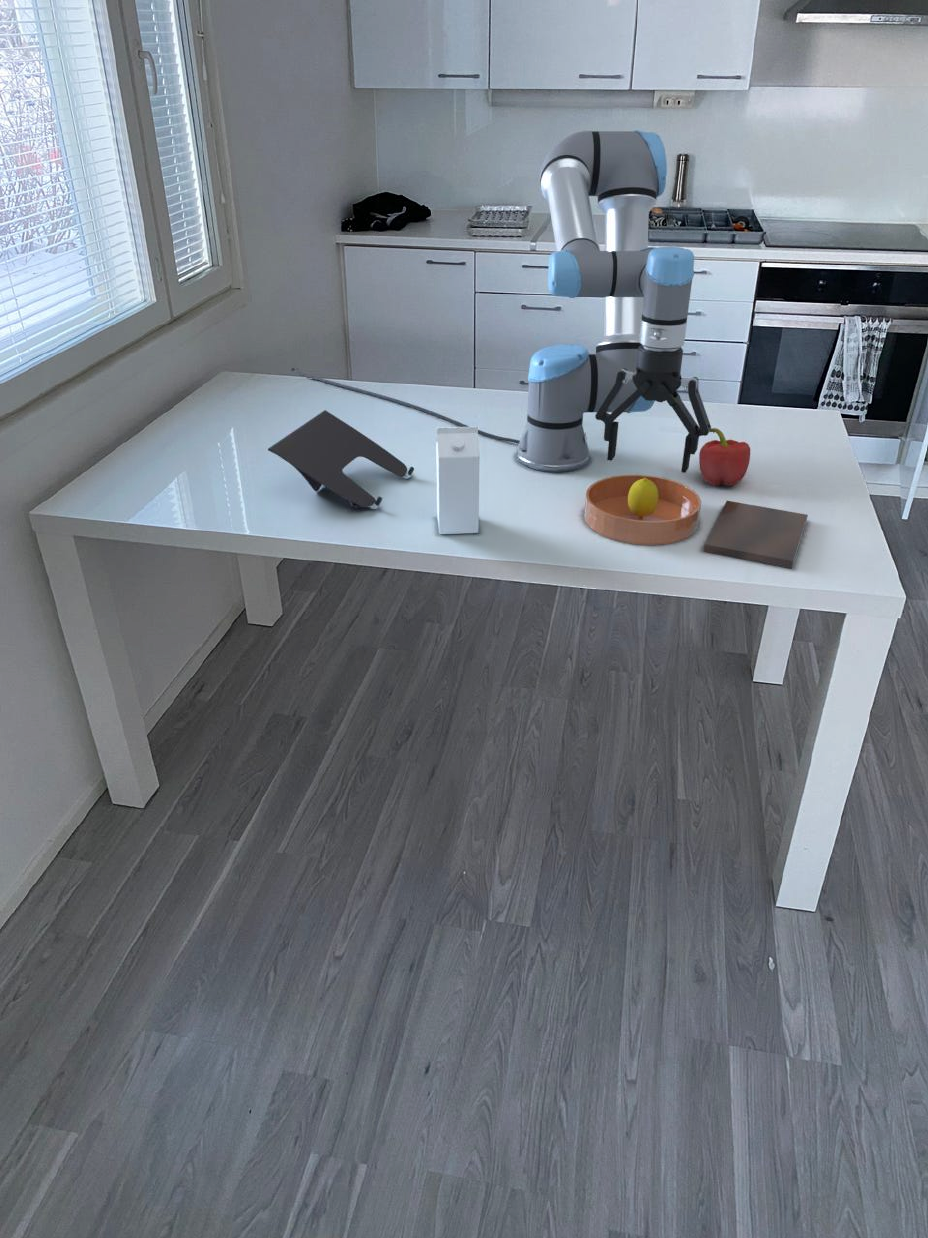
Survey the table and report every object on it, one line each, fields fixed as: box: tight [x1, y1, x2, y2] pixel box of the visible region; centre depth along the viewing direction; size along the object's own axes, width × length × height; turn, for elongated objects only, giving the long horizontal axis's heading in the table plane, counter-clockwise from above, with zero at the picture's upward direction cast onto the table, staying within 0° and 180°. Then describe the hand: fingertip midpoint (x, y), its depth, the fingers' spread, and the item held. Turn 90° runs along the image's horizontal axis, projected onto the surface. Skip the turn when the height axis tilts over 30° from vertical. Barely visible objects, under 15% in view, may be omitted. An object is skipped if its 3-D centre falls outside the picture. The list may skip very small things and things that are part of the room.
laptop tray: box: [267, 409, 415, 510], centre depth 186 cm, size 23×23×9 cm
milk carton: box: [435, 426, 481, 535], centre depth 168 cm, size 7×7×19 cm
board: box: [703, 500, 809, 570], centre depth 169 cm, size 15×20×2 cm
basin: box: [583, 474, 702, 546], centre depth 174 cm, size 21×21×4 cm
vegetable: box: [698, 427, 751, 487], centre depth 188 cm, size 11×10×10 cm
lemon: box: [628, 478, 658, 518], centre depth 173 cm, size 6×6×8 cm
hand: (647, 464), depth 169 cm, fingers open, 13 cm apart
